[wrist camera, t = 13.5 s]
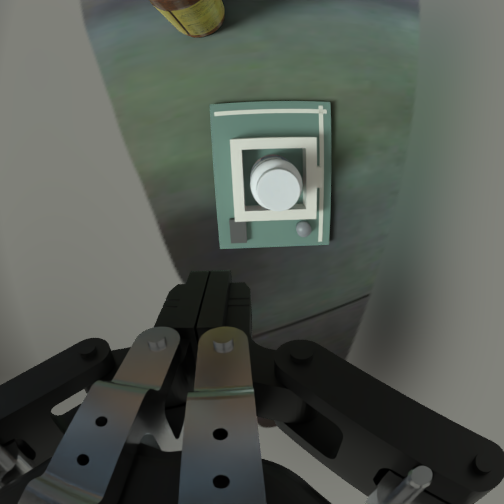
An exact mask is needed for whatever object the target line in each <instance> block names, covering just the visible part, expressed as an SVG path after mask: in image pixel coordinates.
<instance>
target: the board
mask: <svg viewBox="0 0 504 504" xmlns="http://www.w3.org/2000/svg"><path fill="white" fill-rule="evenodd" d="M210 121H211V137H212V153H213V167H214V181H215V194H216V206H217V219H218V230H219V241H220V249H231V248H255V247H280V246H306V245H329V234H330V209H331V107H330V102H316V101H261V102H239V103H224V104H212V105H210ZM267 155H279V156H282V157H284V158H285V159H287V160H288V161H289V162H290V163H292V164H293V165H294V166H295V167H296V168H297V170H298V171H299V173H300V175H301V178H302V184H303V186H302V192H301V195H300V197H299V199H298V201H297V202H296V203H295V205H294V206H292V207H291V208H290V209H287V210H285V211H272V210H269V209H266V208H264V207H262V206H261V205H260V204H259V203H258V202H257V201H256V200H255V198H254V197H253V194H252V192H251V187H250V174H251V170H252V167H253V165H254V164H255V163H256V162H257V161H258V160H259V159H260V158H262V157H264V156H267Z"/></svg>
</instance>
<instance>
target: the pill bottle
mask: <svg viewBox="0 0 504 504" xmlns="http://www.w3.org/2000/svg"><path fill="white" fill-rule="evenodd" d="M302 186H303V184H302V178H301V175H300V173H299V171H298V170H297V168H296V167H295V166H294V165H293V164H292V163H290V162H289V161H288V160H287V159H285V158H284V157H282V156H279V155H267V156H264V157H262V158H260V159H259V160H258V161H257V162H256V163H255V164H254V165H253V167H252V170H251V174H250V187H251V192H252V194H253V197H254V198H255V200H256V201H257V202H258V203H259V204H260V205H261V206H262V207H264V208H266V209H269V210H272V211H285V210H287V209H290V208H291V207H292V206H294V205H295V203H296V202H297V201H298V199H299V197H300V195H301V192H302Z"/></svg>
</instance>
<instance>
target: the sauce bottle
mask: <svg viewBox="0 0 504 504" xmlns="http://www.w3.org/2000/svg"><path fill="white" fill-rule="evenodd" d="M150 2H151V4H152V5H153V6H154V7H155V8H156V9H157V10H158V11H160V12H161V13H162V14H163V15H164V16H165V17H166V18H167V19H168V20H169V21H170V22H171V23H172V24H173V25H174V26H175V27H176V28H177V29H178V30H179V31H180V32H182V33H184V34H186V35H188V36H191V37H194V38H195V37H204V36H207V35H210V34H212V33H214V32H215V31H216V30H217V29H219V27H220V26H221V25H222V23H223V21H224V17H225V14H224V5H223V2H222V0H150Z"/></svg>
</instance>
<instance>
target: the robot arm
mask: <svg viewBox="0 0 504 504" xmlns="http://www.w3.org/2000/svg"><path fill="white" fill-rule="evenodd" d="M83 389H85V391H86V393H87V395H86V397H85V399H84V400H83V402H82V404H80V405H78V406H77V407H75V408H73V409H71V410H70V411H68V412H66V413H65V414H63V415H59V416H57V415H54V414H52V413H51V409H52V408H53V407H54V406H55V405H57V404H59V403H60V402H62V401H64V400H65V399H67V398H69V397H71V396H72V395H74V394H76V393H77V392H79V391H81V390H83ZM257 416H258V417H262V418H267V419H271V420H275V423H276V425H277V426H278V427H279V428H280V429H281V430H282V431H283V432H284V433H285V434H287V435H288V436H289V437H290V438H291V439H292V440H294V441H295V442H296V443H297V444H299V445H300V446H301V447H302V448H303V449H305V450H306V451H307V452H308V453H310V454H311V455H312V456H313V457H315V458H316V459H317V460H318V461H320V462H321V463H322V464H324V465H325V466H326V467H328V468H329V469H330V470H331V471H333V472H334V473H336V474H337V475H338V476H340V477H341V478H342V479H344V480H345V481H346V482H348V483H349V484H351V485H352V486H353V487H355V488H356V489H358V490H359V491H361V492H362V493H364V494H365V495H367V496H368V498H367V500H366V503H365V504H474V503H475V502H477V501H478V500H479V499H481V498H482V497H483V496H485V495H486V494H487V493H488V492H490V491H491V490H492V489H493V488H495V487H496V486H497V485H498V484H499V483H500V482H501V481H502V479H503V478H504V452H503V450H502V449H501V448H500V446H498V445H497V444H496V443H494V442H492V441H490V440H488V439H486V438H484V437H482V436H480V435H478V434H476V433H474V432H473V431H471V430H469V429H467V428H465V427H463V426H461V425H459V424H457V423H455V422H453V421H451V420H449V419H448V418H446V417H444V416H442V415H440V414H438V413H436V412H435V411H433V410H431V409H429V408H427V407H425V406H423V405H421V404H420V403H418V402H416V401H415V400H413V399H411V398H409V397H407V396H406V395H404V394H402V393H400V392H399V391H397V390H395V389H393V388H391V387H390V386H388V385H386V384H385V383H383V382H381V381H379V380H378V379H376V378H374V377H372V376H371V375H369V374H367V373H366V372H364V371H362V370H361V369H359V368H357V367H355V366H354V365H352V364H350V363H349V362H347V361H345V360H344V359H342V358H340V357H339V356H337V355H335V354H334V353H332V352H330V351H329V350H327V349H326V348H324V347H322V346H321V345H319V344H317V343H315V342H312V341H308V340H293V341H289V342H286V343H284V344H283V345H281V346H280V347H279V348H278V349H277V350H272V349H268V348H264V347H261V346H260V345H258V344H256V343H255V342H254V341H253V340H252V312H251V295H250V289H249V287H248V286H247V285H246V284H245V282H241V283H232V275H231V270H218V271H211V272H210V271H191V272H190V275H189V277H188V280H187V282H186V284H178V285H177V286H175V287H174V288H173V289H172V290H171V291H170V292H169V294H168V296H167V298H166V301H165V303H164V305H163V308H162V309H161V312H160V314H159V316H158V319H157V321H156V323H155V326H154V328H150V329H148V330H145V331H144V332H142V333H141V334H140V335H139V336H138V337H137V338H136V339H135V341H134V343H133V345H132V347H129V348H124V349H118V350H113V351H111V349H110V347H109V344H108V343H107V342H106V341H105V340H103V339H100V338H90V339H86V340H83V341H81V342H79V343H77V344H75V345H73V346H72V347H70V348H68V349H66V350H64V351H62V352H61V353H59V354H57V355H55V356H53V357H51V358H49V359H48V360H46V361H44V362H42V363H40V364H39V365H37V366H35V367H33V368H31V369H29V370H28V371H26V372H24V373H22V374H20V375H18V376H16V377H15V378H13V379H11V380H9V381H7V382H6V383H4V384H2V385H0V504H331V503H330V502H329V501H328V500H327V499H325V498H324V497H323V496H322V495H320V494H319V493H318V492H317V491H316V490H314V489H313V488H312V487H311V486H310V485H309V484H308V483H307V482H306V481H305V480H303V479H302V478H301V477H300V476H298V475H297V474H295V473H294V472H292V471H291V470H289V469H287V468H285V467H283V466H282V465H279V464H277V463H274V462H271V461H268V460H265V459H261V451H260V443H259V433H258V424H257Z"/></svg>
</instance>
